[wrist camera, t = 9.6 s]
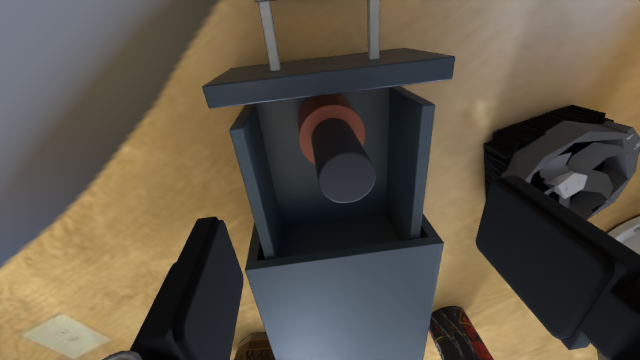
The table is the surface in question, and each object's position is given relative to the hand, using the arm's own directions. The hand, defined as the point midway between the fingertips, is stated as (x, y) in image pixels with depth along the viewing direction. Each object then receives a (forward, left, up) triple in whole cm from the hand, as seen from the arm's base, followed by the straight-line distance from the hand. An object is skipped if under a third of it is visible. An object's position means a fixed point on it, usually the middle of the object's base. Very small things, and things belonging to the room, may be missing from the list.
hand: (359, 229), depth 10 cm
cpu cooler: (-21, +7, -16) cm, 27 cm away
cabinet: (0, +16, -16) cm, 23 cm away
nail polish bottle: (0, 0, -14) cm, 14 cm away
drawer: (0, +1, -15) cm, 15 cm away
